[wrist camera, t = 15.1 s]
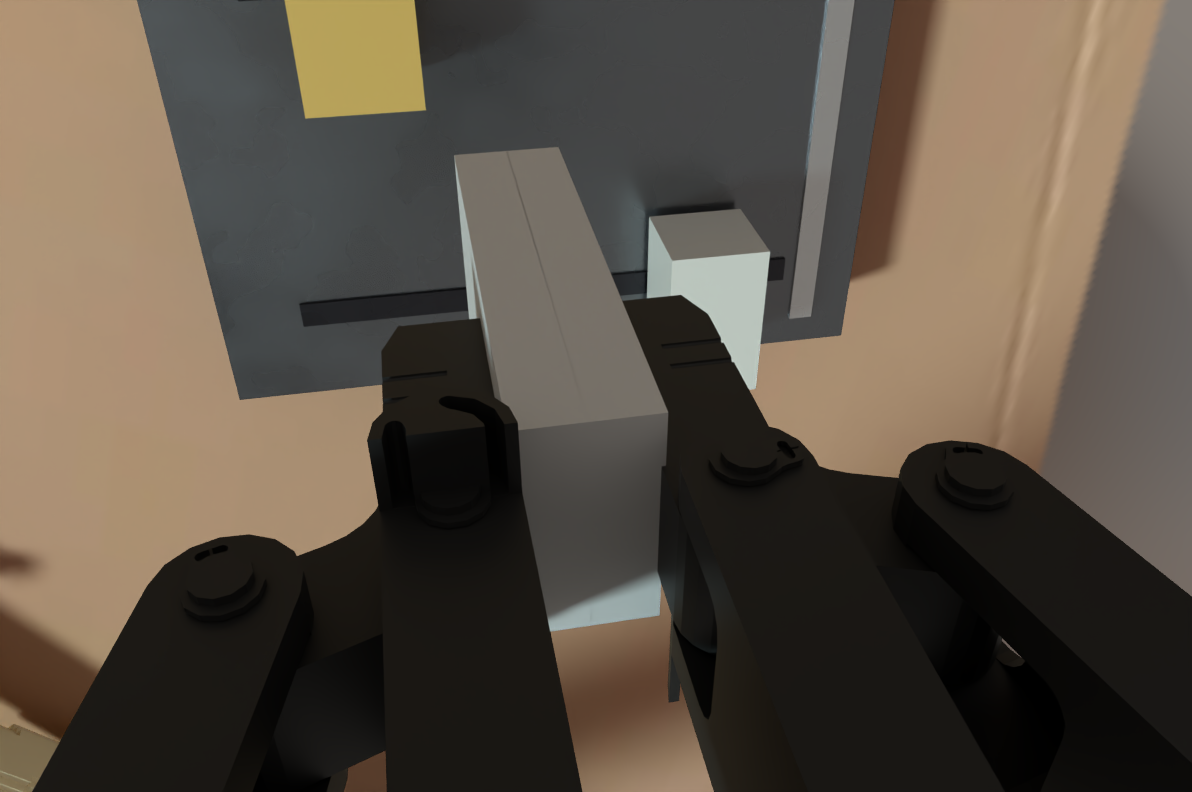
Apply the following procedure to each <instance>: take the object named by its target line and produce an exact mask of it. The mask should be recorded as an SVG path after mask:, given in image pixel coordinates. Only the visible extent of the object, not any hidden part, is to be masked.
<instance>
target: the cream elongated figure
mask: <svg viewBox="0 0 1192 792" xmlns="http://www.w3.org/2000/svg"><path fill="white" fill-rule="evenodd" d="M59 743H60V742H57V741H55V740H52V739H50V738H47V737H45V736H42V735H40V734H37V733H35V732H32V731H30V730H28V729H25V728H23V727H20V726H18V725H15V724H13V725H12V726H10V727H9V728H6V727H4V726H1V725H0V792H32V791H33V789H34V787H35V785H36V784H37V782H38V780H39V778H40V777H41V775H42V773H43V771H44V769H45V768H46V766H47V764H48V762H49V760H50V759H51V757H52V755H53V753H54V751H55V750H56V748H57V746H58V744H59Z"/></svg>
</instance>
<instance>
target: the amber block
mask: <svg viewBox="0 0 1192 792" xmlns="http://www.w3.org/2000/svg"><path fill="white" fill-rule="evenodd" d="M285 5H286V11H287V17H288V22H289V28H290V34H291V39H292V45H293V51H294V56H295V62H296V68H297V74H298V79H299V85H300V91H301V96H302V102H303V108H304V113H305V119H306V118H321V117H335V116H350V115H364V114H379V113H393V112H408V111H422V110H426V107H425V97H424V87H423V78H422V68H421V59H420V49H419V40H418V30H417V21H416V11H415V1H414V0H285Z"/></svg>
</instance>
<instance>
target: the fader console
mask: <svg viewBox="0 0 1192 792" xmlns="http://www.w3.org/2000/svg"><path fill="white" fill-rule="evenodd" d="M414 1H415V11H416V21H417V30H418V40H419V49H420V59H421V68H422V78H423V87H424V97H425V107H426V110H422V111H408V112H393V113H379V114H364V115H350V116H335V117H321V118H306V119H305V113H304V108H303V102H302V96H301V91H300V85H299V79H298V74H297V68H296V62H295V56H294V51H293V45H292V39H291V34H290V28H289V22H288V17H287V11H286V5H285V0H137V2H138V6H139V10H140V13H141V17H142V21H143V25H144V29H145V33H146V37H147V41H148V44H149V48H150V52H151V56H152V60H153V64H154V68H155V72H156V76H157V79H158V83H159V87H160V91H161V95H162V99H163V103H164V107H165V111H166V114H167V118H168V122H169V126H170V130H171V134H172V138H173V142H174V145H175V149H176V153H177V157H178V161H179V165H180V169H181V173H182V177H183V180H184V184H185V188H186V192H187V196H188V200H189V204H190V208H191V212H192V215H193V219H194V223H195V227H196V231H197V235H198V239H199V243H200V247H201V250H202V254H203V258H204V262H205V266H206V270H207V274H208V278H209V281H210V285H211V289H212V293H213V297H214V301H215V305H216V309H217V313H218V316H219V320H220V324H221V328H222V332H223V336H224V340H225V344H226V348H227V351H228V355H229V359H230V363H231V367H232V371H233V375H234V379H235V382H236V386H237V390H238V394H239V398H240V400H243V399H252V398H262V397H271V396H280V395H289V394H299V393H308V392H317V391H327V390H336V389H345V388H355V387H364V386H373V385H382V383H383V381H382V359H381V351H382V349H383V348H384V346H385V345H386V343H387V342H388V340H389V339H390V337H391V336H392V334H393V333H394V332H395V330H396V329H397V327H398V326H407V325H417V324H426V323H436V322H446V321H456V320H466V319H469V311H468V300H467V289H466V278H465V268H464V257H463V246H462V235H461V224H460V213H459V202H458V191H457V181H456V170H455V159H454V155H461V154H474V153H487V152H500V151H513V150H526V149H539V148H552V147H559V150H560V152H561V155H562V157H563V159H564V162H565V164H566V167H567V169H568V172H569V174H570V176H571V179H572V181H573V184H574V186H575V188H576V191H577V193H578V196H579V198H580V201H581V203H582V205H583V208H584V210H585V213H586V215H587V217H588V220H589V222H590V225H591V227H592V230H593V232H594V234H595V237H596V239H597V242H598V244H599V246H600V249H601V251H602V254H603V256H604V258H605V261H606V263H607V266H608V268H609V271H610V273H611V275H612V278H613V280H614V283H615V285H616V287H617V290H618V292H619V295H620V297H621V300H622V301H625V300H635V299H645V298H647V277H648V242H649V217H652V216H663V215H675V214H686V213H698V212H709V211H721V210H732V209H741V211H742V212H743V213H744V215H745V216H746V218H747V219H748V221H749V222H750V223H751V225H752V226H753V228H754V229H755V231H756V232H757V234H758V235H759V236H760V238H761V239H762V241H763V242H764V244H765V245H766V246H767V248H768V249H769V251H770V258H769V267H768V277H767V286H766V295H765V305H764V314H763V324H762V333H761V343H760V344H764V343H774V342H783V341H792V340H802V339H811V338H820V337H830V336H839V335H841V332H842V326H843V319H844V313H845V307H846V301H847V294H848V288H849V282H850V276H851V269H852V263H853V257H854V251H855V244H856V238H857V232H858V226H859V219H860V213H861V207H862V201H863V194H864V188H865V182H866V176H867V169H868V163H869V157H870V150H871V144H872V138H873V132H874V125H875V119H876V113H877V107H878V100H879V94H880V88H881V82H882V75H883V69H884V63H885V57H886V50H887V44H888V38H889V32H890V25H891V19H892V13H893V7H894V0H414Z"/></svg>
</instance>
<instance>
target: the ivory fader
mask: <svg viewBox="0 0 1192 792" xmlns="http://www.w3.org/2000/svg"><path fill="white" fill-rule="evenodd" d="M769 258H770V251H769V249H768V248H767V246H766V245H765V244H764V242H763V241H762V239H761V238H760V236H759V235H758V234H757V232H756V231H755V229H754V228H753V226H752V225H751V223H750V222H749V221H748V219H747V218H746V216H745V215H744V213H743V212H742V211H741V209H732V210H721V211H709V212H698V213H686V214H675V215H663V216H652V217H649V242H648V277H647V298H655V297H665V296H675V295H682V296H683V297H685V298H686V299H688V300H689V301H690V302H692V303H693V304H695V305H696V306H697V307H699V308H700V309H702V310H703V311H705V312H706V313H707V314H708V315H709V317H710V318H711V320H712V322H713V324H714V326H715V328H716V330H717V331H718V333H719V335H720V337H721V343H724V344H725V346H726V348H727V350H728V352H729V354H730V355H731V360H732V362H734V363H735V365H736V367H737V368H738V370H739V372H740V374H741V376H742V378H743V380H744V381H745V383H746V385H747V387H748V389H756V380H757V371H758V361H759V352H760V343H761V333H762V324H763V314H764V305H765V295H766V286H767V277H768V267H769Z"/></svg>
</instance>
